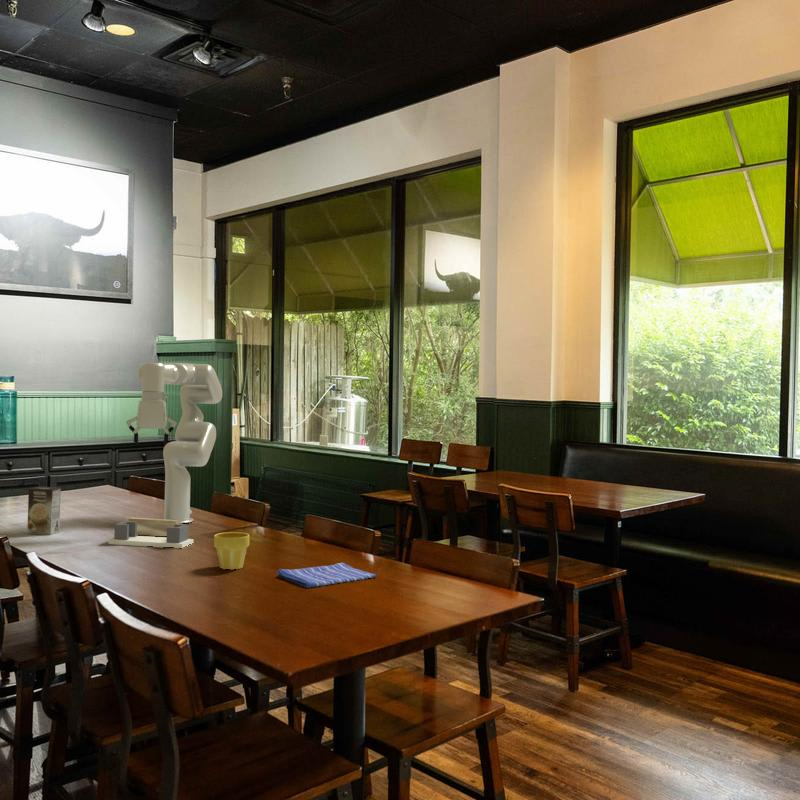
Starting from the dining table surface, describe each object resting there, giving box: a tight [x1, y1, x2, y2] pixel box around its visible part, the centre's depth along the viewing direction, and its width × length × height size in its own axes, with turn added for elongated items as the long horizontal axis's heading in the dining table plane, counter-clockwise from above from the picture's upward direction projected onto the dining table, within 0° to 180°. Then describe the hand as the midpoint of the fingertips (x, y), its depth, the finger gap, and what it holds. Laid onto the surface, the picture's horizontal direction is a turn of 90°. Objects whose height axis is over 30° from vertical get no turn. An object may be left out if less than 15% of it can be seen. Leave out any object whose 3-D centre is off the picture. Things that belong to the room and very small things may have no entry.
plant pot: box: [213, 531, 251, 571], centre depth 239 cm, size 10×10×10 cm
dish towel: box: [276, 562, 377, 589], centre depth 231 cm, size 17×24×3 cm
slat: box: [127, 517, 179, 537], centre depth 286 cm, size 2×18×6 cm, turn 81°
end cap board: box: [108, 520, 194, 549], centre depth 271 cm, size 9×26×6 cm, turn 81°
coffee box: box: [26, 485, 62, 536], centre depth 284 cm, size 9×6×16 cm
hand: (150, 444), depth 288 cm, fingers open, 9 cm apart
